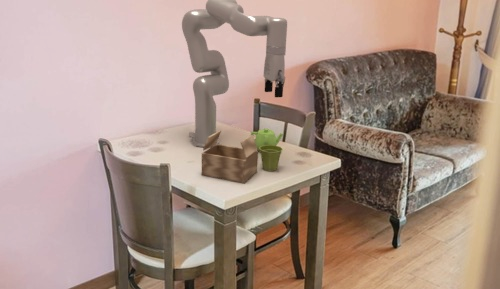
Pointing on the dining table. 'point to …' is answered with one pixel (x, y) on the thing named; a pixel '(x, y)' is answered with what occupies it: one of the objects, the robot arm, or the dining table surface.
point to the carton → (229, 163)
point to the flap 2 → (249, 146)
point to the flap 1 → (212, 140)
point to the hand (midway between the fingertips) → (273, 94)
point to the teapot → (266, 138)
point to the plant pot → (270, 156)
